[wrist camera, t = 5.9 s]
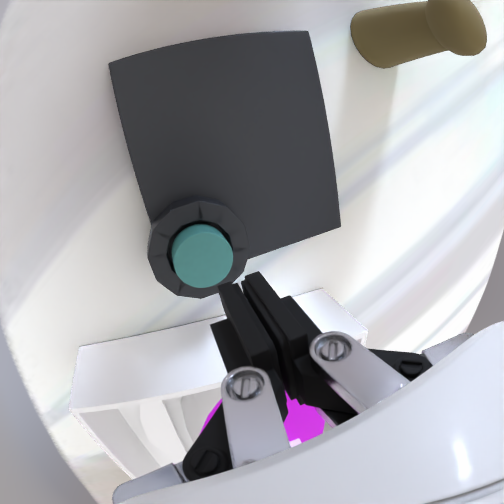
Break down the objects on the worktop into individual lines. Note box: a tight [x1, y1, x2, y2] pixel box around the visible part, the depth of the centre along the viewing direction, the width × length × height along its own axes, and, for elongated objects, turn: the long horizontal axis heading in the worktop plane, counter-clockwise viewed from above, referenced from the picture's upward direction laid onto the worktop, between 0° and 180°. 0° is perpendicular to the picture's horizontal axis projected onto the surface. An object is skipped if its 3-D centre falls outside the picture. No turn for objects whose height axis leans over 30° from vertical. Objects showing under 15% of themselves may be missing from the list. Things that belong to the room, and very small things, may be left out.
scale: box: [109, 31, 341, 299], centre depth 19 cm, size 17×15×3 cm
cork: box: [351, 0, 487, 69], centre depth 15 cm, size 6×6×11 cm
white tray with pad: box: [69, 288, 368, 479], centre depth 28 cm, size 22×35×7 cm, turn 5°
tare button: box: [172, 224, 233, 288], centre depth 18 cm, size 4×4×2 cm
